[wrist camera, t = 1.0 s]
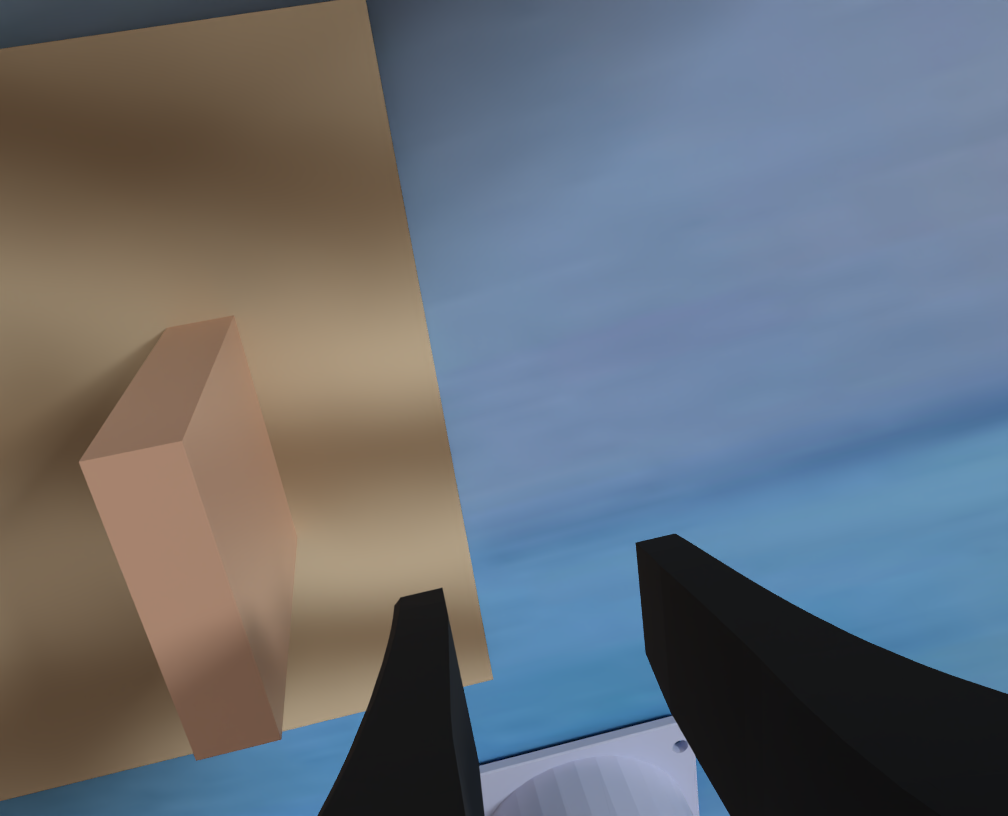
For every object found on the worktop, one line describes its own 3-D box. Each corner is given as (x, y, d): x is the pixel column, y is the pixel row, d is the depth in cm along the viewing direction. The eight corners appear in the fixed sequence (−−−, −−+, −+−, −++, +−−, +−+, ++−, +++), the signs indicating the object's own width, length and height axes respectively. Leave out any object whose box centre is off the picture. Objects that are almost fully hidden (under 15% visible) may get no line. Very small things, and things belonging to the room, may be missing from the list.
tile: (297, 537, 21) (281, 739, 15) (233, 552, 21) (189, 762, 15) (234, 315, 19) (182, 440, 12) (162, 328, 19) (71, 463, 12)
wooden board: (489, 665, 25) (493, 679, 24) (-39, 795, 23) (-48, 813, 22) (363, -2, 17) (364, -4, 17) (-422, 112, 16) (-450, 114, 15)
